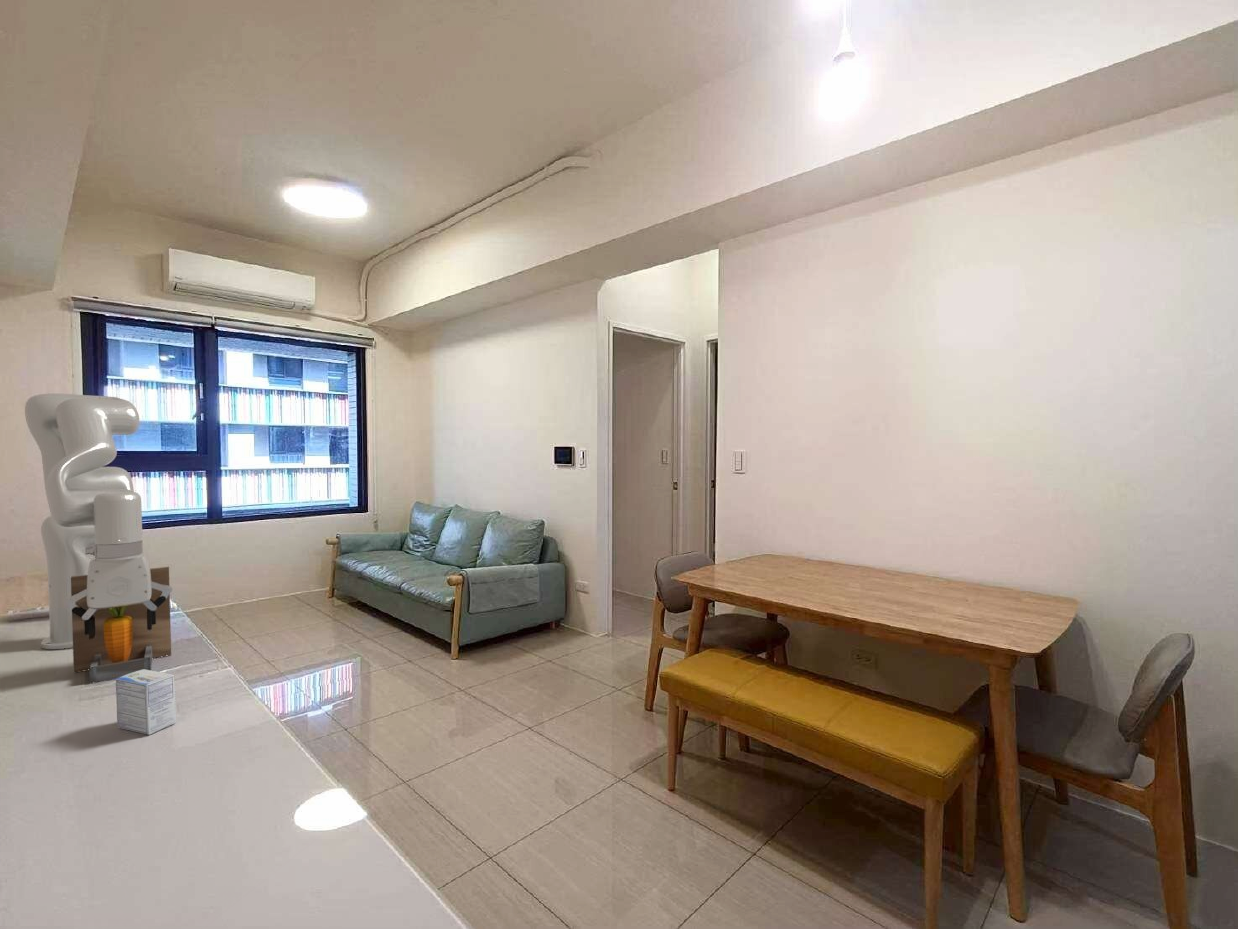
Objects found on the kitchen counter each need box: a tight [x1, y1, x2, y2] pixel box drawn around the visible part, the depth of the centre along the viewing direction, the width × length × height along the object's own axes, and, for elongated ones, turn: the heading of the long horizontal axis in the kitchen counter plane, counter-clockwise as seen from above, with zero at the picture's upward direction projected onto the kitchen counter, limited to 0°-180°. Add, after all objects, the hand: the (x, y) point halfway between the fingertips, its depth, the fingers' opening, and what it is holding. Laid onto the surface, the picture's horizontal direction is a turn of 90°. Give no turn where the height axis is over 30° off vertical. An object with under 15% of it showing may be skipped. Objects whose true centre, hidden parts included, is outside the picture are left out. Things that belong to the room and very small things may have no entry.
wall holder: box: [71, 566, 172, 684], centre depth 121 cm, size 11×16×20 cm
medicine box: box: [115, 669, 177, 735], centre depth 96 cm, size 8×4×9 cm, turn 71°
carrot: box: [103, 606, 133, 663], centre depth 120 cm, size 5×5×15 cm
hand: (121, 632), depth 120 cm, fingers open, 8 cm apart
